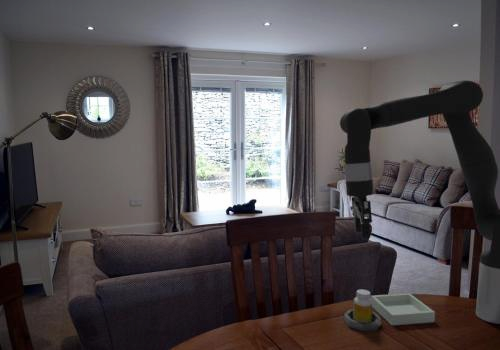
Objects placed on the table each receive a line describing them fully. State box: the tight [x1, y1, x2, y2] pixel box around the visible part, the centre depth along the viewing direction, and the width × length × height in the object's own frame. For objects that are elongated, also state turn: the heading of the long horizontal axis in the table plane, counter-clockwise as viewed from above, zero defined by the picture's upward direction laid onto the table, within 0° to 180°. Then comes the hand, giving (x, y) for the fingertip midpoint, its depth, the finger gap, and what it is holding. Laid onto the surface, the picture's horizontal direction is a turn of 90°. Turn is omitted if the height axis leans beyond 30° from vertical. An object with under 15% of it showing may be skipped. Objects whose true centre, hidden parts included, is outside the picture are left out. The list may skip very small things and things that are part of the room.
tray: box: [370, 292, 436, 326], centre depth 127 cm, size 14×14×3 cm
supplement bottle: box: [352, 288, 373, 323], centre depth 120 cm, size 5×5×10 cm
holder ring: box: [343, 308, 382, 332], centre depth 121 cm, size 10×10×2 cm
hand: (362, 234), depth 115 cm, fingers open, 8 cm apart
